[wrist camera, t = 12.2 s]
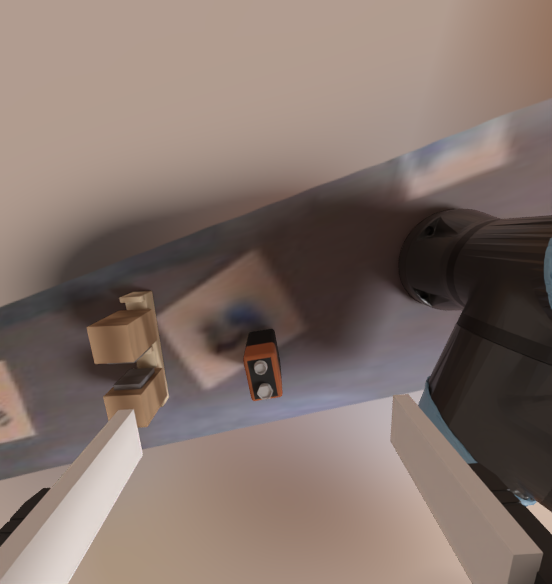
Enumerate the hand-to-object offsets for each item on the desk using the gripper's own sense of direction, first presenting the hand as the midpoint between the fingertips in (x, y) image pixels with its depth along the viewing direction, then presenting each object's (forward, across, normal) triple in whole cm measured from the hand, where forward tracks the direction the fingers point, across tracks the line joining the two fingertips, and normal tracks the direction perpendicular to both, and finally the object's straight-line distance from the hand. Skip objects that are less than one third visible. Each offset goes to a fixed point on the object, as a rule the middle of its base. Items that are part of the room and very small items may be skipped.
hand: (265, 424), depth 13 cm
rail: (+29, -20, -8) cm, 36 cm away
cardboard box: (+26, -20, -3) cm, 33 cm away
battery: (+29, -1, -9) cm, 30 cm away
